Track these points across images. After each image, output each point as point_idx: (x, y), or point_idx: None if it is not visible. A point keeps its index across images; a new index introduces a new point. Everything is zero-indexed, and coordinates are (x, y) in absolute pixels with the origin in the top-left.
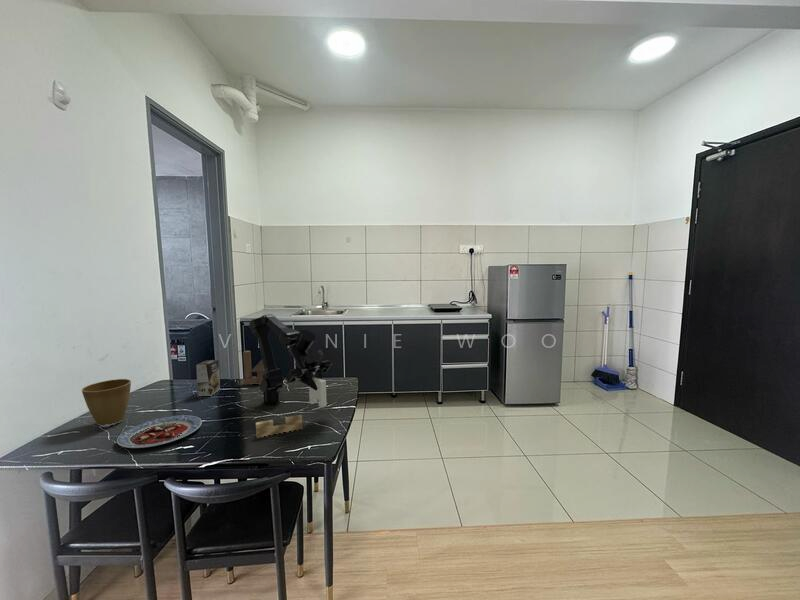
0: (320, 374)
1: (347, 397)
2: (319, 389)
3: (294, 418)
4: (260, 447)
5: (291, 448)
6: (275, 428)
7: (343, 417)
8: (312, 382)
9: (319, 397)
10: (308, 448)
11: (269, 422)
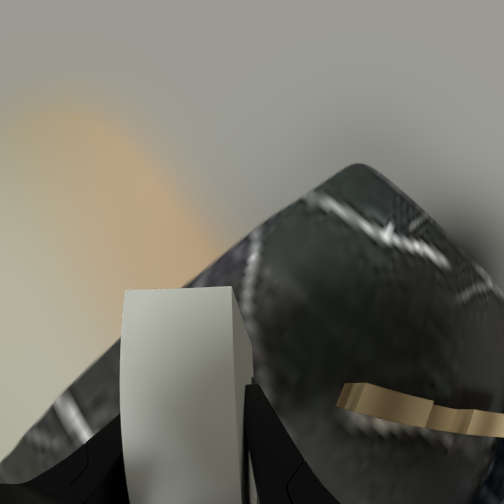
0: (52, 489)
1: (22, 458)
2: (243, 347)
3: (398, 392)
4: (489, 342)
5: (432, 267)
6: (449, 408)
7: None
8: (291, 450)
9: (249, 359)
10: (392, 227)
11: (482, 411)
